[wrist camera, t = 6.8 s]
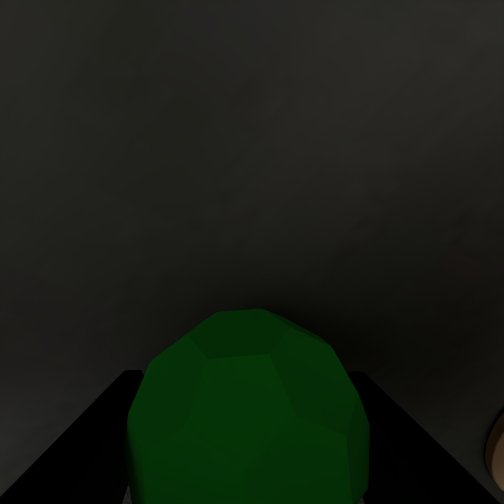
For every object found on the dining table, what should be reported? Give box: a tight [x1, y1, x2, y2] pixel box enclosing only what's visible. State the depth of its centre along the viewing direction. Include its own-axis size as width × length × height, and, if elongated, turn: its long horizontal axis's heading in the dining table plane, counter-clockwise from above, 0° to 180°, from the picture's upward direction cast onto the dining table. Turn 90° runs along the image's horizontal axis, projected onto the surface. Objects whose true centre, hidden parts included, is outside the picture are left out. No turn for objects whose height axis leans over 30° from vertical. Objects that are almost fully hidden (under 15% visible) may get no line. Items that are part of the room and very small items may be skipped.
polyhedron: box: [124, 308, 370, 504], centre depth 7 cm, size 5×5×5 cm
